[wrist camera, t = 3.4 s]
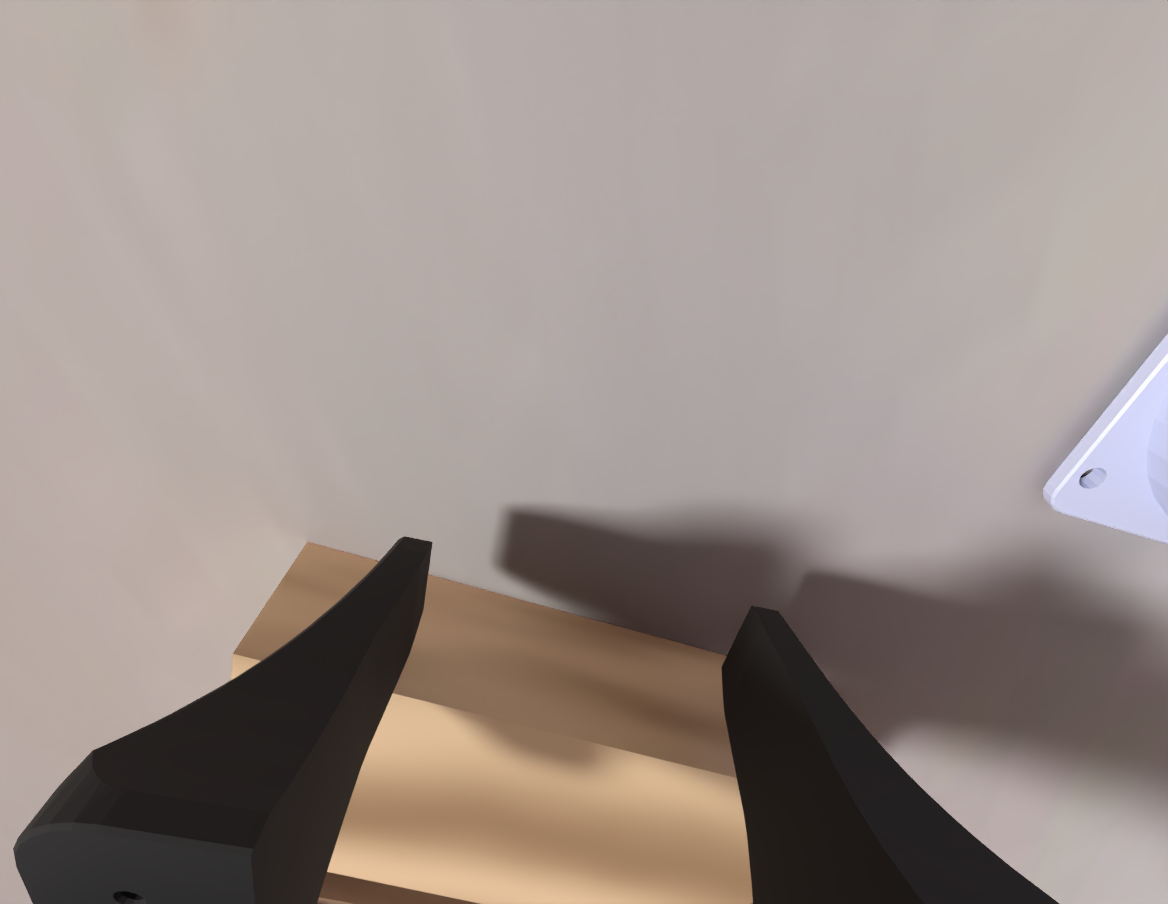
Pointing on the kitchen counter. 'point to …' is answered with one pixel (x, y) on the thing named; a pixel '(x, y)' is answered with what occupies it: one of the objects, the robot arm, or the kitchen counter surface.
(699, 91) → the kitchen counter surface
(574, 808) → the wooden block
